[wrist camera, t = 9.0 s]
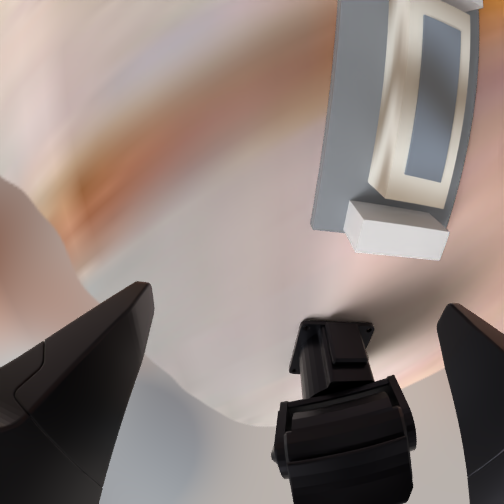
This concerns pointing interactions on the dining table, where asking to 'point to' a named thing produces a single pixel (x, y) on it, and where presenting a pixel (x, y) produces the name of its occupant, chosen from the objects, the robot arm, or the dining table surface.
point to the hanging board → (363, 140)
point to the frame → (421, 101)
